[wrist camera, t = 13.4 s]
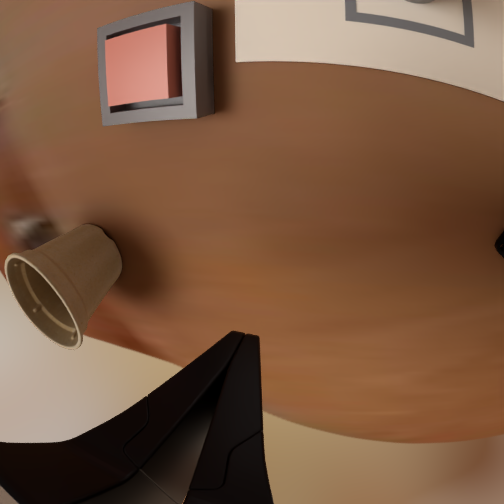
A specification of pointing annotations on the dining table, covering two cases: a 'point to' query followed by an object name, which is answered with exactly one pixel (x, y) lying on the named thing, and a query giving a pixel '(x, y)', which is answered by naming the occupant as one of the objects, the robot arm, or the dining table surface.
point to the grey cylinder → (420, 1)
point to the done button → (144, 65)
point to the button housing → (192, 63)
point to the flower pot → (64, 282)
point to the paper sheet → (381, 37)
